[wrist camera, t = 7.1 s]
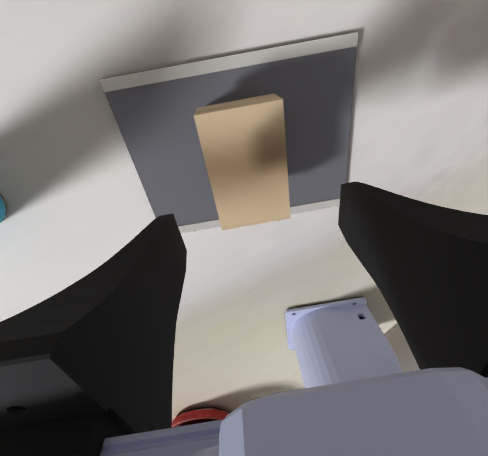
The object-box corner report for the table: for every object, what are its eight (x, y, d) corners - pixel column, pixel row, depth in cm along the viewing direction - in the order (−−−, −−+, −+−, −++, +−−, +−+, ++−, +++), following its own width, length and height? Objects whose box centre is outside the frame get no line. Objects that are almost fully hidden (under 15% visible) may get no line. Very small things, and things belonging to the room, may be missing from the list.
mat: (354, 32, 16) (358, 31, 15) (342, 202, 22) (344, 204, 22) (102, 79, 16) (99, 79, 16) (164, 233, 23) (163, 236, 22)
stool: (276, 186, 21) (290, 218, 16) (221, 195, 21) (221, 230, 17) (267, 89, 17) (282, 99, 13) (199, 101, 17) (193, 115, 13)
